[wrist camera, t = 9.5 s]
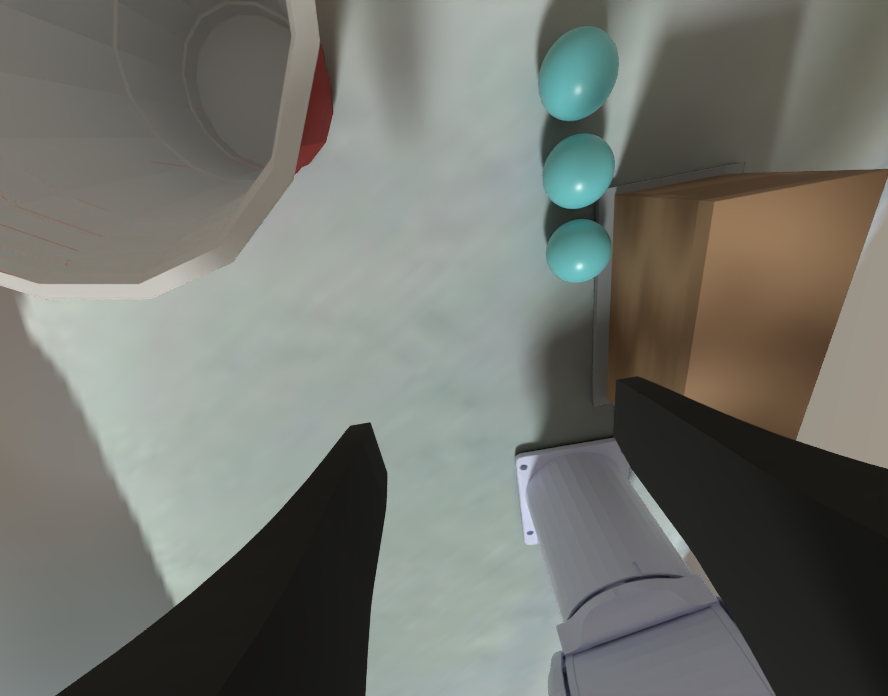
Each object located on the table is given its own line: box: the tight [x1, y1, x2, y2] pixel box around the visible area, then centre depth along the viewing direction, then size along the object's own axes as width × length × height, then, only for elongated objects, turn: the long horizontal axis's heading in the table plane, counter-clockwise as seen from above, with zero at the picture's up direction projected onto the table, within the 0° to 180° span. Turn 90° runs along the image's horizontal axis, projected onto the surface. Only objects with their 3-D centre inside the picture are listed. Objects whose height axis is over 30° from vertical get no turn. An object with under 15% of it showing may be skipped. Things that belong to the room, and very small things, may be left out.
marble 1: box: [543, 133, 615, 209], centre depth 15 cm, size 3×3×3 cm
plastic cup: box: [0, 0, 333, 300], centre depth 10 cm, size 11×11×12 cm
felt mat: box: [592, 162, 745, 407], centre depth 20 cm, size 13×7×1 cm, turn 10°
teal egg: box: [538, 26, 619, 121], centre depth 14 cm, size 3×3×3 cm
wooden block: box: [607, 169, 888, 441], centre depth 17 cm, size 12×6×6 cm, turn 10°
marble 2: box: [546, 219, 612, 283], centre depth 17 cm, size 3×3×3 cm
